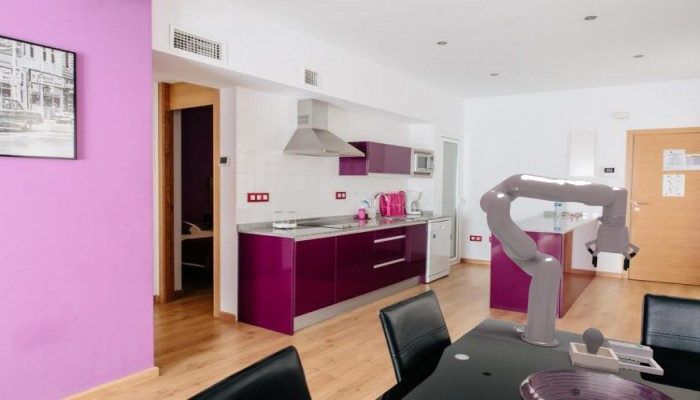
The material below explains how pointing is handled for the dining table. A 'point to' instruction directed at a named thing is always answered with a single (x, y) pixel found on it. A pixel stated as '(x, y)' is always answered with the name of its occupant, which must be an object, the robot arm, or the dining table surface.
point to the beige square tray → (594, 358)
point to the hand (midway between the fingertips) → (609, 268)
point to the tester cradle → (635, 356)
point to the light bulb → (593, 340)
